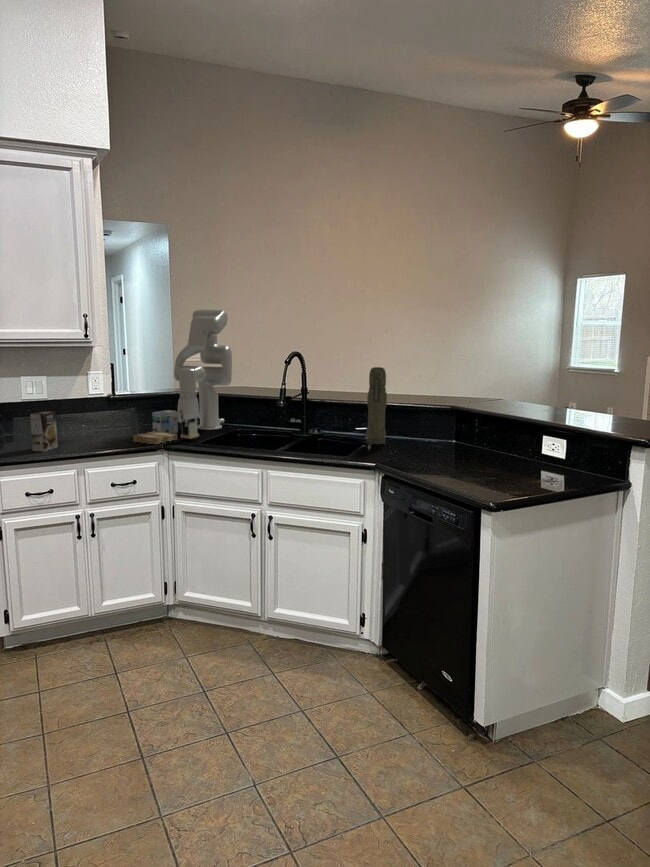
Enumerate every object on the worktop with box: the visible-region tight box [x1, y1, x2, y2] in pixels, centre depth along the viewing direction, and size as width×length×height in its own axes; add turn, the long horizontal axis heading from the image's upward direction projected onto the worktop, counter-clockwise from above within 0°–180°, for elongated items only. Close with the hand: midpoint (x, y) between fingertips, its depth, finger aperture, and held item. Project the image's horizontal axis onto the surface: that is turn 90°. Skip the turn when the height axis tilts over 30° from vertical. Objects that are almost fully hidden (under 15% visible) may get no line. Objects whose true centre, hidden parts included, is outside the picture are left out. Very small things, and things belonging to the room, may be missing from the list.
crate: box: [180, 420, 200, 440], centre depth 299 cm, size 6×6×7 cm
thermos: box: [365, 366, 388, 445], centre depth 294 cm, size 9×12×35 cm
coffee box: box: [30, 410, 58, 453], centre depth 276 cm, size 9×6×16 cm
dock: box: [132, 431, 179, 446], centre depth 297 cm, size 14×14×3 cm
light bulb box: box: [152, 409, 179, 434], centre depth 316 cm, size 11×7×11 cm, turn 143°
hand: (189, 433), depth 299 cm, fingers closed on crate, 5 cm apart
